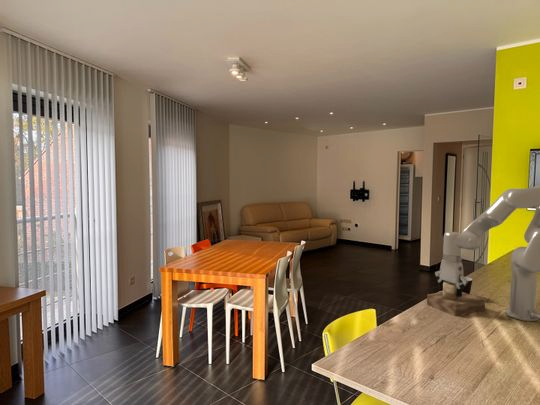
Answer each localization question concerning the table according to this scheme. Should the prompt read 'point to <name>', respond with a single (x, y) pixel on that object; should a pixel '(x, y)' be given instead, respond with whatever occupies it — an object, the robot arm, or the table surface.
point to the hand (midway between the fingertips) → (450, 293)
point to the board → (456, 303)
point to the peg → (449, 291)
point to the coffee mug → (467, 285)
